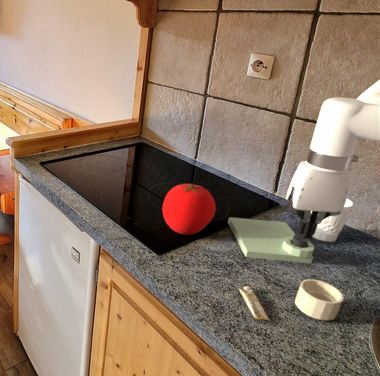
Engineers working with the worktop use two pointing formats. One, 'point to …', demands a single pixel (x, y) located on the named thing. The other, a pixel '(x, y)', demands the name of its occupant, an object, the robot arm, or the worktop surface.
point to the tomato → (188, 208)
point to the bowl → (318, 299)
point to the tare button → (299, 241)
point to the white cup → (333, 224)
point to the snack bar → (253, 303)
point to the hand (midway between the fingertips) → (304, 235)
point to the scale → (269, 240)
